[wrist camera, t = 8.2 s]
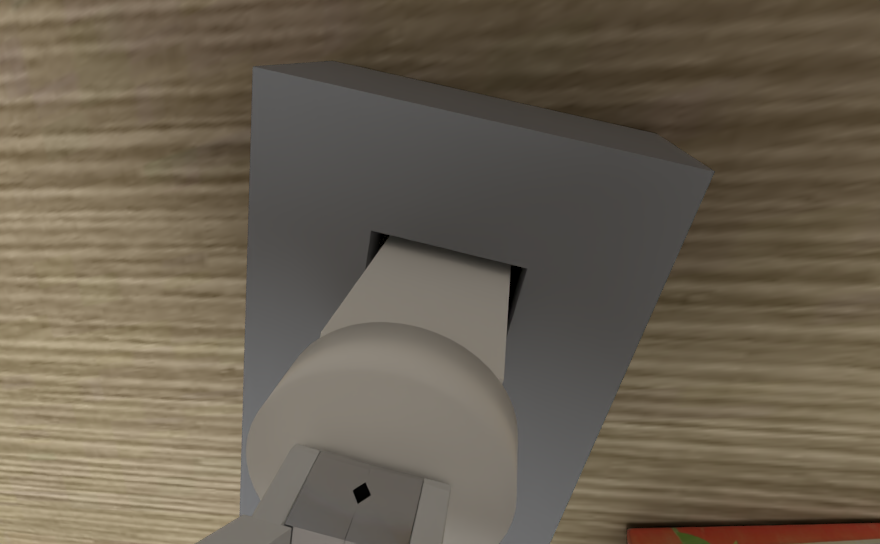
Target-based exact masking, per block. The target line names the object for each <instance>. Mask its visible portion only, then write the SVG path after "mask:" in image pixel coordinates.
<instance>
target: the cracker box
mask: <svg viewBox="0 0 880 544" xmlns="http://www.w3.org/2000/svg"><path fill="white" fill-rule="evenodd" d="M627 544H880V523H849V524H813V525H761V526H719V527H674V528H632V529H628V530H627Z"/></svg>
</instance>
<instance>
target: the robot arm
mask: <svg viewBox="0 0 880 544" xmlns="http://www.w3.org/2000/svg"><path fill="white" fill-rule="evenodd" d="M423 478H424V477H420V476H416V475H412V474H408V473H404V472H400V471H396V470H392V469H388V468H384V467H380V466H376V465H373V466H372V465H370V464H366V463H363V462H359V461H356V460H353V459H349V458H346V457H342V456H339V455H336V454H332V453H329V452H326V451H321V450H317V449H314V448H310V447H307V446H304V445H300V444H297V443H296V444H295V445H294V446H293V447H292V448H291V449H290V451H289V452H288V454H287V456H286V458H285V459H284V461H283V463H282V464H281V466H280V468H279V470H278V471H277V473H276V475H275V477H274V478H273V480H272V482H271V483H270V485H269V487H268V489H267V490H266V492H265V494H264V496H263V497H262V499H261V501H260V502H259V504H258V506H257V508H256V509H255V511H254V513H253V515H252V516H248V515H242V516H240V517H238V518H237V519H235V520H233V521H232V522H230V523H228V524H227V525H225V526H223V527H222V528H220V529H218V530H217V531H215V532H213V533H212V534H210V535H208V536H207V537H205V538H203V539H202V540H200V541H199V542H197V543H195V544H443V538H444V532H445V525H446V519H447V513H448V506H449V500H450V494H451V487H450V485H449V484H445V483H442V482H438V481H434V480H430V479H426V478H424V480H423Z"/></svg>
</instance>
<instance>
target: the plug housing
mask: <svg viewBox="0 0 880 544" xmlns="http://www.w3.org/2000/svg"><path fill="white" fill-rule="evenodd" d="M714 172H715V171H713V170H712V169H710V168H709V167H707V166H705V165H704V164H702V163H701V162H699V161H698V160H696V159H695V158H693V157H692V156H690V155H689V154H687V153H686V152H684V151H682V150H681V149H679V148H678V147H676V146H675V145H673V144H672V143H670V142H669V141H667V140H666V139H664V138H662V137H661V136H659V135H658V134H656V133H651V132H647V131H642V130H638V129H634V128H629V127H625V126H620V125H616V124H611V123H607V122H602V121H598V120H594V119H589V118H585V117H580V116H576V115H571V114H567V113H562V112H558V111H554V110H549V109H545V108H540V107H536V106H531V105H527V104H522V103H518V102H514V101H509V100H505V99H500V98H496V97H491V96H487V95H482V94H478V93H473V92H469V91H465V90H460V89H456V88H451V87H447V86H442V85H438V84H433V83H429V82H425V81H420V80H416V79H411V78H407V77H402V76H398V75H393V74H389V73H385V72H380V71H376V70H371V69H367V68H362V67H358V66H353V65H349V64H344V63H340V62H336V61H324V62H310V63H295V64H281V65H266V66H253V80H252V114H251V148H250V182H249V216H248V250H247V284H246V318H245V352H244V386H243V420H242V454H241V488H240V516H242V515H248V516H252V515H253V513H254V511H255V509H256V508H257V506H258V504H259V502H260V501H261V500H260V498H259V496H258V495H257V493H256V491H255V489H254V486H253V484H252V481H251V478H250V476H249V471H248V466H247V460H246V445H247V437H248V433H249V430H250V427H251V424H252V422H253V420H254V418H255V416H256V414H257V412H258V411H259V410H260V408H261V407H262V405H263V404H264V403H265V401H266V400H267V399H268V397H269V396H270V395H271V393H272V392H273V390H274V389H275V388H276V386H277V385H278V384H279V382H280V381H281V380H282V378H283V377H284V375H285V374H286V373H287V371H288V370H289V369H290V367H291V366H292V364H293V363H294V362H295V360H296V359H297V358H298V357H299V355H300V354H301V353H302V352H303V351H304V350H305V349H306V348H307V347H308V346H309V345H310V344H312V343H313V342H315V341H316V340H318V339H319V338H320V335H321V331H322V330H323V329H324V327H325V326H326V324H327V323H328V322H329V320H330V319H331V317H332V316H333V315H334V313H335V312H336V310H337V309H338V308H339V306H340V305H341V303H342V302H343V301H344V299H345V298H346V296H347V295H348V294H349V292H350V291H351V289H352V288H353V287H354V285H355V284H356V282H357V281H358V280H359V278H360V277H361V275H362V274H363V273H364V271H365V270H366V268H367V267H368V266H369V264H370V263H371V261H372V260H373V259H374V257H375V256H376V254H377V253H378V251H379V244H380V238H381V233H383V234H387V235H391V236H396V237H400V238H404V239H408V240H412V241H416V242H420V243H424V244H428V245H432V246H437V247H441V248H445V249H449V250H453V251H457V252H461V253H465V254H469V255H473V256H478V257H482V258H486V259H490V260H494V261H498V262H502V263H506V264H510V265H514V266H519V267H522V268H521V272H520V275H519V279H518V282H517V285H516V289H515V292H514V295H513V299H512V302H511V306H510V309H509V312H508V319H507V335H506V351H505V367H504V380H503V383H502V385H503V387H504V389H505V390H506V392H507V394H508V396H509V398H510V401H511V403H512V405H513V408H514V412H515V416H516V420H517V430H518V452H517V499H516V510H515V513H514V517H513V520H512V523H511V525H510V527H509V529H508V531H507V533H506V535H505V536H504V537H503V539H502V540H501V541H500V543H499V544H550V542H551V540H552V538H553V535H554V533H555V531H556V529H557V526H558V524H559V522H560V520H561V517H562V515H563V513H564V511H565V508H566V506H567V504H568V502H569V499H570V497H571V495H572V492H573V490H574V488H575V486H576V483H577V481H578V479H579V477H580V474H581V472H582V470H583V468H584V465H585V463H586V461H587V459H588V456H589V454H590V452H591V450H592V447H593V445H594V443H595V441H596V438H597V436H598V434H599V432H600V429H601V427H602V425H603V423H604V420H605V418H606V416H607V414H608V411H609V409H610V407H611V405H612V402H613V400H614V398H615V396H616V393H617V391H618V389H619V387H620V384H621V382H622V380H623V378H624V375H625V373H626V371H627V368H628V366H629V364H630V362H631V359H632V357H633V355H634V353H635V350H636V348H637V346H638V344H639V341H640V339H641V337H642V335H643V332H644V330H645V328H646V326H647V323H648V321H649V319H650V317H651V314H652V312H653V310H654V308H655V305H656V303H657V301H658V299H659V296H660V294H661V292H662V290H663V287H664V285H665V283H666V281H667V278H668V276H669V274H670V272H671V269H672V267H673V265H674V263H675V260H676V258H677V256H678V254H679V251H680V249H681V247H682V244H683V242H684V240H685V238H686V235H687V233H688V231H689V229H690V226H691V224H692V222H693V220H694V217H695V215H696V213H697V211H698V208H699V206H700V204H701V202H702V199H703V197H704V195H705V193H706V190H707V188H708V186H709V184H710V181H711V179H712V177H713V175H714Z"/></svg>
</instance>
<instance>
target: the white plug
mask: <svg viewBox="0 0 880 544" xmlns="http://www.w3.org/2000/svg"><path fill="white" fill-rule="evenodd" d="M510 270H511V265H510V264H506V263H502V262H498V261H494V260H490V259H486V258H482V257H478V256H473V255H469V254H465V253H461V252H457V251H453V250H449V249H445V248H441V247H437V246H432V245H428V244H424V243H420V242H416V241H412V240H408V239H404V238H400V237H396V236H391V235H390V236H389V238H388V239H387V240H386V242H385V243H384V245H383V246H382V247H381V249H380V250H379V252H378V253H377V254H376V256H375V257H374V259H373V260H372V261H371V263H370V264H369V266H368V267H367V268H366V270H365V271H364V273H363V274H362V275H361V277H360V278H359V280H358V281H357V282H356V284H355V285H354V287H353V288H352V289H351V291H350V292H349V294H348V295H347V296H346V298H345V299H344V301H343V302H342V303H341V305H340V306H339V308H338V309H337V310H336V312H335V313H334V315H333V316H332V317H331V319H330V320H329V322H328V323H327V324H326V326H325V327H324V329H323V330H322V331H321V335H320V338H319V339H318V340H316V341H315V342H313V343H312V344H310V345H309V346H308V347H307V348H306V349H305V350H304V351H303V352H302V353H301V354H300V355H299V357H298V358H297V359H296V360H295V362H294V363H293V364H292V366H291V367H290V369H289V370H288V371H287V373H286V374H285V375H284V377H283V378H282V380H281V381H280V382H279V384H278V385H277V386H276V388H275V389H274V390H273V392H272V393H271V395H270V396H269V397H268V399H267V400H266V401H265V403H264V404H263V405H262V407H261V408H260V410H259V411H258V412H257V414H256V416H255V418H254V420H253V422H252V424H251V427H250V430H249V433H248V437H247V445H246V460H247V466H248V471H249V476H250V478H251V481H252V484H253V486H254V489H255V491H256V493H257V495H258V496H259V498H260V500H261V499H262V497H263V496H264V494H265V492H266V490H267V489H268V487H269V485H270V483H271V482H272V480H273V478H274V477H275V475H276V473H277V471H278V470H279V468H280V466H281V464H282V463H283V461H284V459H285V458H286V456H287V454H288V452H289V451H290V449H291V448H292V447H293V446H294V445H295V444H296V443H297V444H300V445H304V446H307V447H310V448H314V449H317V450H321V451H326V452H329V453H332V454H336V455H339V456H342V457H346V458H349V459H353V460H356V461H359V462H363V463H366V464H370V465H372V466H373V465H376V466H380V467H384V468H388V469H392V470H396V471H400V472H404V473H408V474H412V475H416V476H420V477H424V478H426V479H430V480H434V481H438V482H442V483H445V484H449V485H450V487H451V494H450V500H449V506H448V513H447V519H446V525H445V532H444V538H443V544H499V543H500V541H501V540H502V539H503V537H504V536H505V535H506V533H507V531H508V529H509V527H510V525H511V523H512V520H513V517H514V513H515V510H516V499H517V452H518V430H517V420H516V416H515V412H514V408H513V405H512V403H511V401H510V398H509V396H508V394H507V392H506V390H505V389H504V387H503V385H502V383H503V380H504V367H505V351H506V335H507V319H508V303H509V287H510ZM424 478H423V480H424Z"/></svg>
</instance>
